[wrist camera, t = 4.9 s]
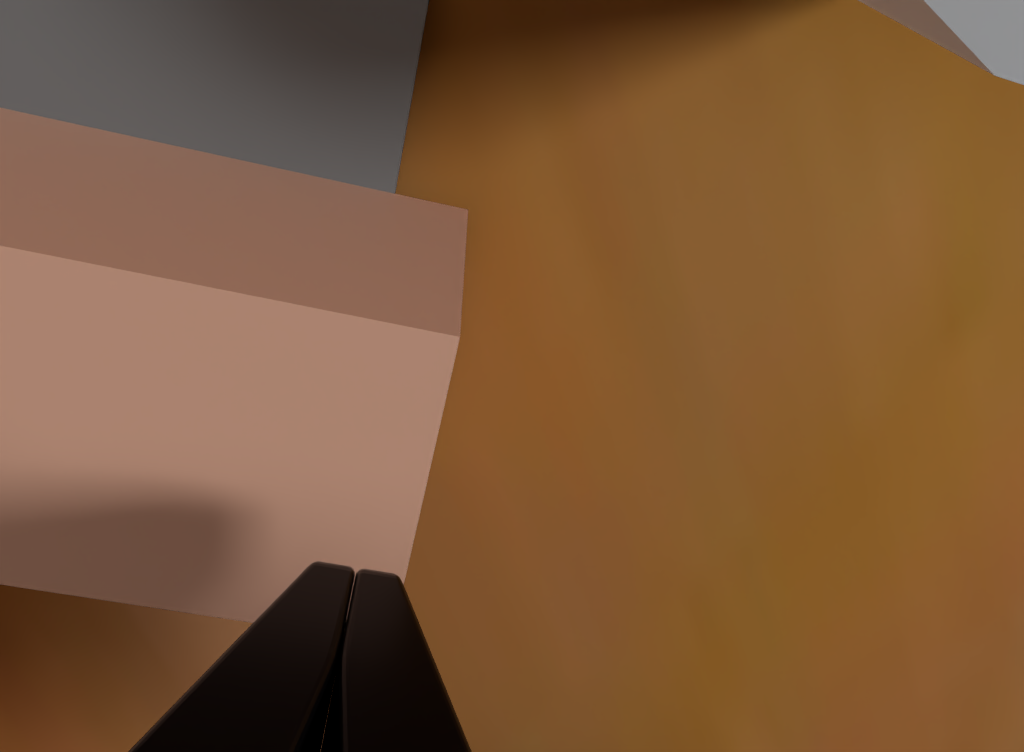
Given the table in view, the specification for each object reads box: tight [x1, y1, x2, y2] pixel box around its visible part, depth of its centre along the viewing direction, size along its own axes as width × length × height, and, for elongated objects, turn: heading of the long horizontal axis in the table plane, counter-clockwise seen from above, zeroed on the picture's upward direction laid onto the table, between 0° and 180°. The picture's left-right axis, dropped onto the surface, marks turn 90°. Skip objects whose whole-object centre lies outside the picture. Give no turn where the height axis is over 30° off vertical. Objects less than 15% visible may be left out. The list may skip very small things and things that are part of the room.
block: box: [0, 108, 468, 625], centre depth 11 cm, size 4×4×9 cm
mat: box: [0, 0, 429, 194], centre depth 13 cm, size 10×8×1 cm
